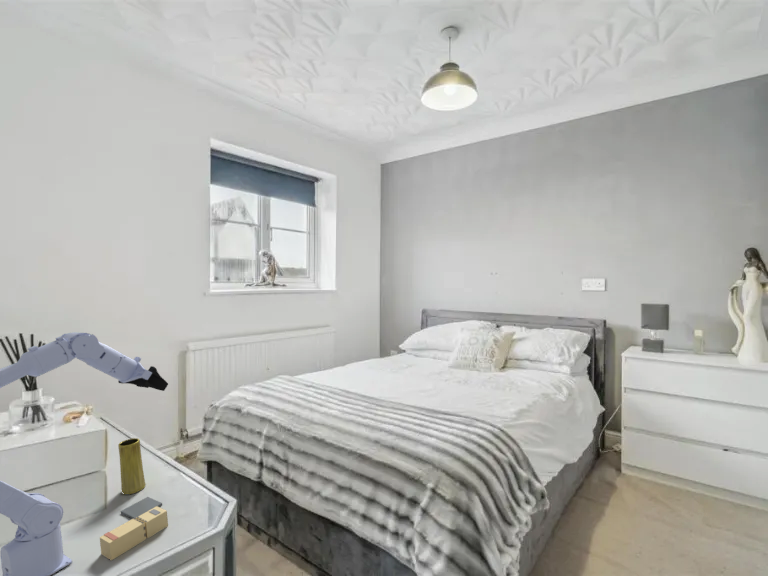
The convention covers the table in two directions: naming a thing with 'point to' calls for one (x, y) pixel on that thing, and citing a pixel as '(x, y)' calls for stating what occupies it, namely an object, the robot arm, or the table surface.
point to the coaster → (141, 507)
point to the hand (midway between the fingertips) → (157, 385)
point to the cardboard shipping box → (122, 538)
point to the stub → (154, 520)
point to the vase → (131, 466)
